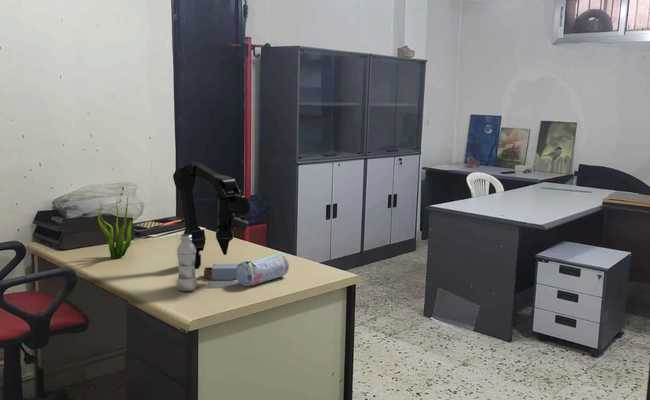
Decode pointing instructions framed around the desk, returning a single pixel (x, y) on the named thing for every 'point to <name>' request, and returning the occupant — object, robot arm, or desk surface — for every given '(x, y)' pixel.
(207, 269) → the tray
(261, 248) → the desk surface
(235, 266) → the cover
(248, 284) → the pencil case
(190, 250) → the plastic bottle
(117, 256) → the decorative plant
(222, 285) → the mat
